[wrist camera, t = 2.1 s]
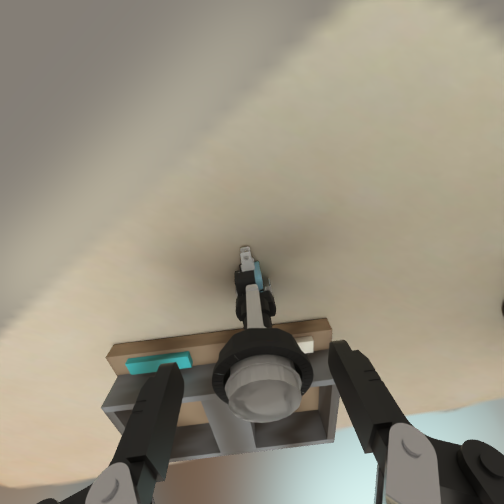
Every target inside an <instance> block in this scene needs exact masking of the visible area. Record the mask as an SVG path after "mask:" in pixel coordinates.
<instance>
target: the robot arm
mask: <svg viewBox="0 0 504 504" xmlns="http://www.w3.org/2000/svg"><path fill="white" fill-rule="evenodd" d="M328 366H329V370H330V373H331V375H332V377H333V380H334V382H335V385H336V387H337V389H338V392H339V394H340V396H341V399H342V401H343V403H344V406H345V408H346V410H347V413H348V415H349V417H350V420H351V422H352V424H353V427H354V429H355V431H356V434H357V436H358V438H359V441H360V443H361V446H362V448H363V450H364V453H373V454H374V456H375V458H376V460H377V462H378V465H377V475H376V487H375V497H374V504H504V455H503V454H502V453H500V452H499V451H498V450H496V449H495V448H493V447H492V446H490V445H488V444H486V443H484V442H481V441H478V440H467V441H465V442H464V443H463V445H458V444H453V443H450V442H445V441H441V440H437V439H434V438H431V437H429V436H426V435H424V434H423V433H422V432H420V431H419V430H418V429H416V428H415V427H414V426H413V425H412V424H410V422H409V421H408V420H407V419H406V417H405V416H404V414H403V413H402V411H401V409H400V408H399V406H398V405H397V403H396V402H395V400H394V398H393V397H392V395H391V394H390V392H389V391H388V389H387V387H386V386H385V384H384V383H383V381H381V378H380V376H379V375H378V373H377V372H376V371H375V369H374V367H373V365H372V364H371V362H370V361H369V359H368V358H367V357H366V356H365V355H363V354H362V353H361V352H360V351H359V350H354V351H352V350H351V348H350V347H349V345H348V343H347V342H346V341H345V340H340V341H333V342H330V343H329V353H328ZM183 395H184V379H183V376H182V374H181V372H180V369H179V367H178V364H177V363H176V362H172V363H164V364H160V366H159V367H158V370H157V373H156V375H155V377H149V379H148V380H147V381H146V383H145V384H144V385H143V387H142V388H141V390H140V392H139V395H138V397H137V400H136V404H135V405H134V407H133V410H132V414H131V415H130V417H129V420H128V422H127V425H126V427H125V430H124V432H123V435H122V437H121V440H120V442H119V445H118V447H117V450H116V452H115V455H114V457H113V459H112V461H111V463H110V465H109V466H108V468H106V469H105V470H104V471H103V472H102V473H101V474H100V475H99V476H98V477H97V478H96V480H95V481H94V483H93V484H91V485H90V486H88V487H87V488H85V489H83V490H81V491H79V492H77V493H76V494H74V495H72V496H70V497H68V498H66V499H65V500H63V501H61V502H57V501H56V500H54V499H52V498H49V499H45V500H43V501H40V502H39V503H37V504H155V502H154V499H153V492H154V488H155V483H156V482H160V481H165V478H166V473H167V468H168V464H169V459H170V455H171V450H172V446H173V441H174V436H175V432H176V427H177V422H178V418H179V413H180V408H181V404H182V399H183Z"/></svg>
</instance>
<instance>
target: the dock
mask: <svg viewBox="0 0 504 504" xmlns="http://www.w3.org/2000/svg"><path fill="white" fill-rule="evenodd" d="M272 328H279V329H281V330H283V331H286V332H288V333H290V334H292V335H293V337H294V339H295V340H296V342H297V344H298V345H299V347H300V349H301V350H302V351H303V352H304V353H305V354H306V355H307V357H308V358H309V360H310V362H311V365H312V368H313V374H314V376H313V382H312V384H311V386H310V388H309V389H308V391H307V392H306V393H305V394H304V395H303V396H302V399H301V402H300V406H299V407H298V409H296V410H295V411H294V412H293V413H292V414H291V415H289V416H287V417H285V418H282V419H280V420H277V421H272V422H264V423H259V422H249V421H245V420H243V419H241V418H238V417H236V416H235V415H234V414H233V413H232V411H231V410H230V409H229V404H227V403H225V402H223V401H222V400H221V399H220V398H219V397H218V396H217V395H216V394H215V392H214V390H213V387H212V374H213V369H214V366H215V364H216V363H217V361H218V358H219V352H220V351H221V349H222V348H223V347H224V346H225V344H226V343H227V342H228V341H229V339H230V338H231V337H232V336H233V335H234V334H236V333H238V332H241V331H243V330H244V329H236V330H228V331H220V332H212V333H204V334H196V335H188V336H180V337H172V338H164V339H155V340H147V341H139V342H131V343H123V344H115V345H113V347H112V349H111V350H110V352H109V353H108V355H107V356H106V359H107V361H108V362H109V364H110V365H111V367H112V369H113V370H114V372H115V373H116V375H117V379H116V381H115V383H114V385H113V386H112V388H111V390H110V392H109V394H108V396H107V397H106V399H105V401H104V403H103V405H102V407H101V409H102V410H103V411H104V413H105V414H106V415H107V416H108V418H109V419H110V420H111V422H112V423H113V424H114V426H115V427H116V428H117V429H118V431H119V432H120V433H121V435H123V432H124V430H125V427H126V425H127V422H128V420H129V417H130V415H131V414H132V410H133V407H134V405H135V404H136V400H137V397H138V395H139V392H140V390H141V388H142V387H143V385H144V384H145V383H146V381H147V380H148V379H149V377H155V375H156V373H157V370H158V367H159V366H160V364H164V363H172V362H176V363H177V364H178V367H179V369H180V372H181V374H182V376H183V379H184V395H183V399H182V404H181V408H180V413H179V418H178V422H177V427H176V432H175V436H174V441H173V446H172V450H171V455H170V459H169V462H176V461H184V460H193V459H201V458H209V457H217V456H225V455H234V454H242V453H250V452H258V451H267V450H274V449H283V448H291V447H299V446H308V445H316V444H324V443H332V442H334V438H335V430H336V422H337V414H338V406H339V398H340V394H339V392H338V389H337V387H336V385H335V382H334V380H333V377H332V375H331V373H330V370H329V366H328V353H329V343H330V342H331V340H332V328H331V326H330V324H329V322H328V320H327V318H325V319H317V320H309V321H301V322H293V323H285V324H277V325H272ZM230 369H231V367H230Z"/></svg>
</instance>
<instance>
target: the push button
mask: <svg viewBox="0 0 504 504" xmlns="http://www.w3.org/2000/svg"><path fill="white" fill-rule="evenodd" d="M240 251H241V253H240V256H241V264H240V271H235V285H236V295H237V299H236V315H237V317H238V319H239V320H240V321H243V325H244V330H243V331H241V332H238V333H236V334H234V335H233V336H232V337H231V338H230V339H229V341H228V342H227V343H226V344H225V346H224V347H223V348H222V349H221V351H220V352H219V358H218V361H217V363H216V364H215V366H214V369H213V374H212V387H213V390H214V392H215V394H216V395H217V396H218V397H219V398H220V399H221V400H222V401H223V402H225V403H227V404H229V409H230V410H231V411H232V413H233V414H234V415H235V416H236V417H238V418H241V419H243V420H245V421H249V422H259V423H264V422H272V421H277V420H280V419H282V418H285V417H287V416H289V415H291V414H292V413H293V412H294V411H295V410H296V409H298V407H299V406H300V402H301V399H302V396H303V395H304V394H305V393H306V392H307V391H308V389H309V388H310V386H311V384H312V382H313V376H314V374H313V368H312V365H311V362H310V360H309V358H308V357H307V355H306V354H305V353H304V352H303V351H302V350H301V349H300V347H299V345H298V344H297V342H296V340H295V339H294V337H293V335H292V334H290V333H288V332H286V331H283V330H281V329H279V328H272V322H271V317H272V316H275V314H276V306H275V302H274V297H273V295H272V290H271V284H270V280H269V278H268V280H269V286H267V287H264V289H265V291H264V289H263V281H262V275H261V272H260V266H259V261H258V262H254V258H252V257H251V252H250V247H249V246H248V247H242V248H240ZM244 251H248V252H244ZM230 367H231V369H230Z"/></svg>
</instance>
